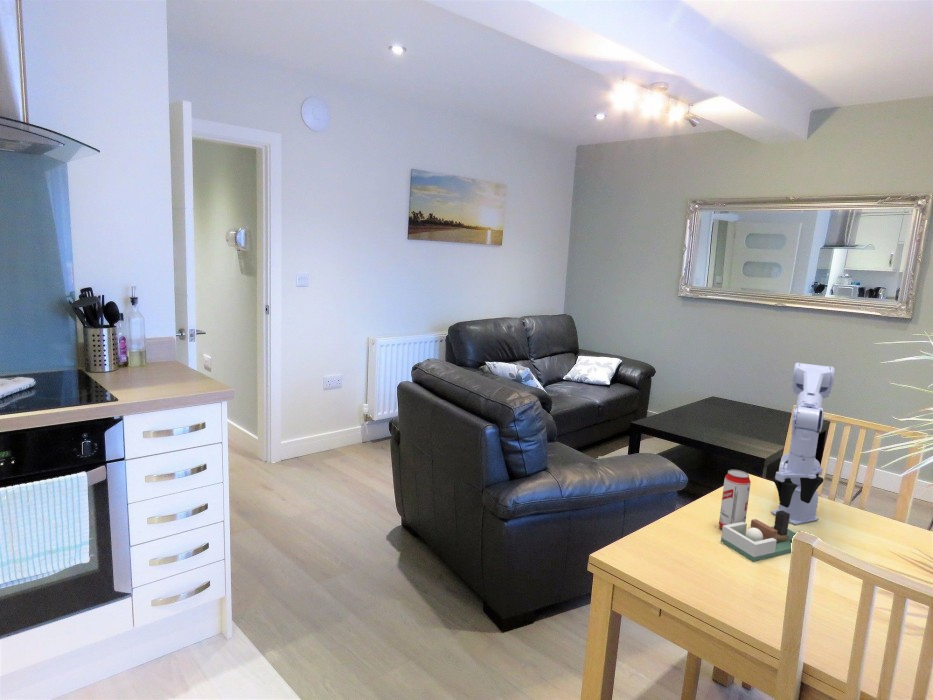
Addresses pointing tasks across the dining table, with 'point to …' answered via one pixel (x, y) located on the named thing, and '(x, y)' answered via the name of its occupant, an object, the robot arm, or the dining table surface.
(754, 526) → the slider
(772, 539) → the pitch
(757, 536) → the ball
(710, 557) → the dining table surface
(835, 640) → the dining table surface
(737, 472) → the beer can
